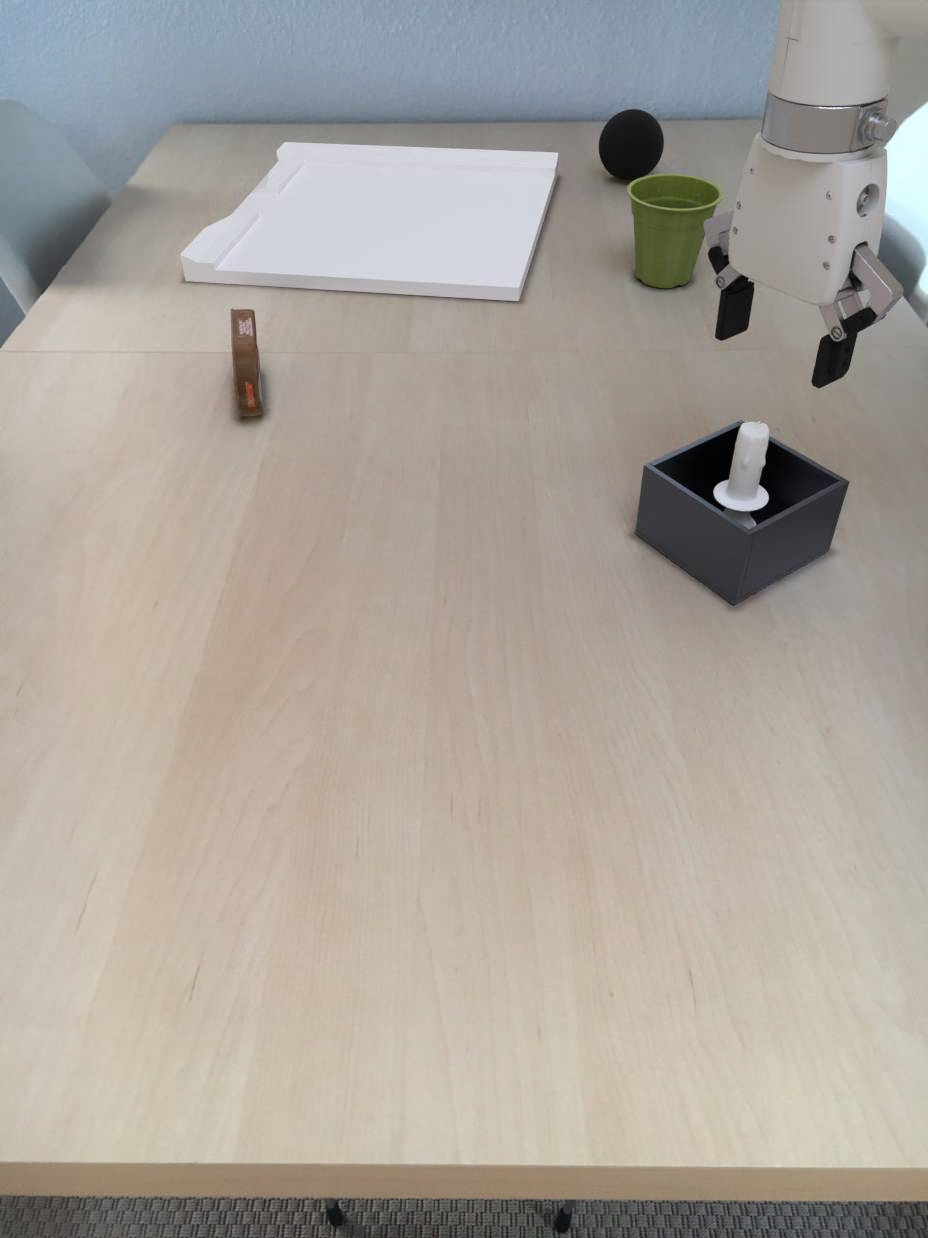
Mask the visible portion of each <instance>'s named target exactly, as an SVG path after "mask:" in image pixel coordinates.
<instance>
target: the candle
mask: <svg viewBox="0 0 928 1238" xmlns="http://www.w3.org/2000/svg"><path fill="white" fill-rule="evenodd" d="M769 436H770V428H769V426H768V424H767V423H764V422H761V420H759V421H749V422H748V421H745V423H743V424H742V425H741V427H740V429H739V432H738V436H737V441H736V443H735V450H734V455H733V460H732V465H731V470H730V476H729V480H725V481H723V482H720V483H719V484H718V485H716V487H715V488H714V491H713V494H714V497H715V499H716V500H717V501H718V502H719V503H720V504H721V505H723V506H724V507H726V509H725V510H724V511H723V512H724V513H725V514H727V515H728V516H730V517H731V518H733V519H734V520H736V521H737V522H739V523H740V524H742V525H744V526H745V527H747V528H748V529H750V528H752V527H754V526H756V522H755V521H754V519H753V518H752V517H751V515H750V512H749V511H755V510H758V509H761V508H762V507H764V506H765V505H766V504H767V503H768V500H769V496H768V493H767V491H766V490H765V489H764V488H763V487H762V486H760V485H759V481H760V477H761V472H762V468H763V467H764V465H765V463H766V461H765V455H766V451H767V447H768V440H769Z"/></svg>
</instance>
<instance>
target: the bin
mask: <svg viewBox="0 0 928 1238" xmlns="http://www.w3.org/2000/svg"><path fill="white" fill-rule="evenodd" d="M745 422H746V421H744V420H743V419H741V420H738V421H736V422H734V423H731V424H730V425H728V426H725V427H724V428H721V429H719V430H717V431H715V432H712V433H710V434H708V435H706V436H703V437H702V438H700V439H698V440H695V441H693V442H691V443H689V444H687V445H685V446H682V447H679V448H678V449H676V450H673V451H671V452H670V453H667V454H664V455H662V456H661V457H659V458H657V459H654V460H652V461H650V462H648V463H646V464H644V465H643V468H642V477H641V484H640V493H639V500H638V507H637V508H638V509H637V515H636V524H635V532H634V535H635V536H637V537H638V538H640V539H641V540H642V541H644V542H645V543H646V544H648V545H649V546H650V547H652V548H653V549H654V550H656V551H658V552H659V553H660V554H661V555H663V556H664V557H666V558H667V559H669V560H670V561H671V562H672V563H674V564H675V565H676V566H678V567H679V568H681V569H682V570H684V571H685V572H686V573H687V574H689V575H690V576H691V577H694V578H695V579H696V580H697V581H699V582H700V583H702V584H703V585H704V586H706V587H707V588H708V589H710V590H711V591H712V592H714V593H715V594H717V596H720V598H722V599H724V600H725V601H726V602H727V603H729V604H730V605H732V606H736V605H738V604H739V603H741V602H743V601H745V600H746V599H748V598H750V597H752V596H753V595H755V594H756V593H759V592H760V591H762V590H763V589H766V588H767V587H768V586H771V585H772V584H774V583H776V582H778V581H779V580H781V579H783V578H784V577H786V576H788V575H790V574H791V573H794V572H795V571H797V570H799V569H801V568H802V567H804V566H806V565H807V564H809V563H810V562H812V561H814V560H816V559H817V558H820V557H821V556H823V555H825V554H826V553H828V552H829V551H830V550H831V549H830V548H831V545H832V542H833V539H834V535H835V532H836V530H837V529H836V528H837V525H838V522H839V518H840V515H841V512H842V508H843V505H844V502H845V499H846V497H847V492H848V489H849V485H850V480H848V479H846V478H845V477H843V476H841V475H839V474H837V473H836V472H834V471H832V470H830V469H829V468H827V467H825V466H824V465H822V464H820V463H818V462H817V461H815V460H813V459H811V458H810V457H808V456H806V455H804V454H803V453H800V452H799V451H797V450H796V449H794V448H792V447H790V446H789V445H787V444H785V443H783V442H781V441H780V440H778V439H777V438H774V437H773V436H771V435H769V440H768V447H767V451H766V455H765V461H766V463H765V465H764V467H763V468H762V472H761V477H760V481H759V485H760V486H762V487H763V488H764V489H765V490H766V491H767V493H768V496H769V500H768V503H767V504H766V505H765V506H764V507H762V508H761V509H758V510H755V511H749V512H750V515H751V517H752V518H753V519H754V521H755V522H756V526H754V527H752V528H750V529H748V528H747V527H745V526H744V525H742V524H740V523H739V522H737V521H736V520H734V519H733V518H731V517H730V516H728V515H727V514H725V513H724V512H723V511H724V510H725V509H726V507H724V506H723V505H721V504H720V503H719V502H718V501H717V500H716V499H715V497H714V494H713V491H714V488H715V487H716V485H718V484H719V483H720V482H723V481H725V480H729V476H730V470H731V465H732V460H733V455H734V450H735V443H736V441H737V436H738V432H739V429H740V427H741V425H742V424H743V423H745Z"/></svg>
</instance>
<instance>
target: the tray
mask: <svg viewBox="0 0 928 1238" xmlns="http://www.w3.org/2000/svg"><path fill="white" fill-rule="evenodd" d="M276 159H277V162H276V163H275V164H274V165H273V167H272V168H271V169H270V170H269V171H268V172H267V173H266V175H265V176H264V177H263V178H262V179H261V180H260V181H259V183H258V184H257V185H256V186H255V187H254V189H253V190H252V191H251V192H250V193H249V194H248V196H246V198H244V199H243V201H242V202H241V203H240V204H239V205H238V206H237V207H236V209H235V210H234V211H233V212H232V213H231V214H230V215H228V216H226V217H223V218H221V219H219V220H217V221H216V222H214V223H212V224H210V225H208V226H206V227H204V228H203V229H202V230H201V231H200V232H199V233H198V234H197V235H196V236H195V238H194V239H192V241H191V242H190V243H189V244H188V245H187V246H186V247H185V248H184V249H183V250H182V251H181V253H179V257H180V258H179V259H180V263H181V266H182V271H183V276H184V280H185V282H195V283H207V284H208V283H209V284H210V283H211V284H226V285H242V286H243V285H244V286H259V287H277V288H290V289H291V288H292V289H293V288H294V289H308V290H323V291H324V290H325V291H340V292H341V291H343V292H358V293H359V292H361V293H373V294H376V293H377V294H392V295H394V294H395V295H409V296H424V297H426V296H427V297H441V298H455V299H456V298H458V299H473V300H491V301H507V302H520V299H521V296H522V293H523V289H524V287H525V283H526V280H527V277H528V273H529V270H530V266H531V264H532V261H533V257H534V254H535V251H536V247H537V244H538V241H539V238H540V234H541V231H542V228H543V225H544V221H545V218H546V216H547V212H548V208H549V206H550V202H551V200H552V197H553V193H554V189H555V187H556V182H557V180H558V176H559V175H558V174H559V152H554V151H553V152H551V151H530V150H529V151H528V150H527V151H526V150H525V151H524V150H505V149H504V150H502V149H476V148H475V149H474V148H472V149H471V148H454V147H453V148H452V147H451V148H450V147H425V146H399V145H397V146H395V145H375V144H373V145H371V144H349V143H348V144H346V143H323V142H322V143H321V142H318V143H317V142H294V141H292V142H291V141H285V142H283V143H282V144H281V146H279V148H278V149H277V150H276Z"/></svg>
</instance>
